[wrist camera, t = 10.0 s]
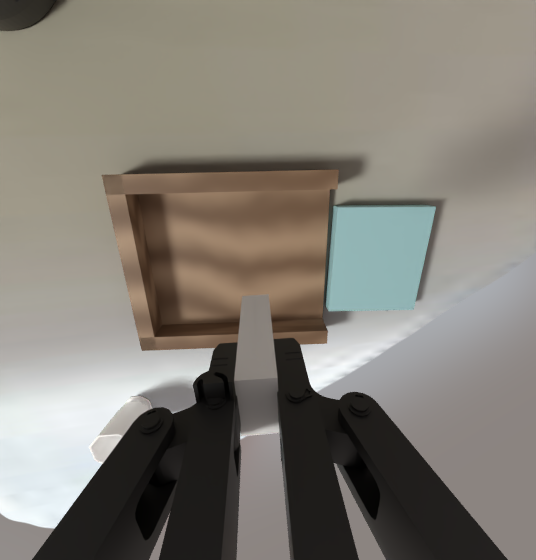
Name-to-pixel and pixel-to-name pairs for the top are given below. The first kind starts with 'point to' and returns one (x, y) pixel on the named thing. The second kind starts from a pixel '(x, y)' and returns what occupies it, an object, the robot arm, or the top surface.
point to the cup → (118, 427)
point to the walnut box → (222, 252)
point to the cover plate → (377, 256)
